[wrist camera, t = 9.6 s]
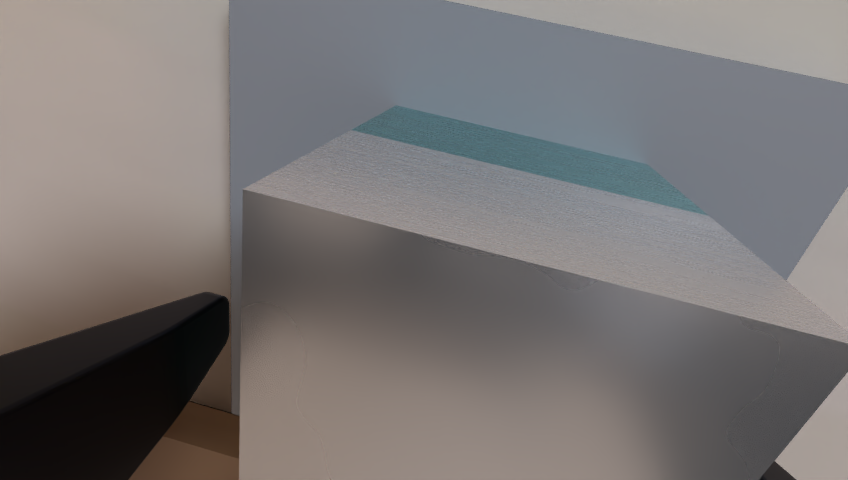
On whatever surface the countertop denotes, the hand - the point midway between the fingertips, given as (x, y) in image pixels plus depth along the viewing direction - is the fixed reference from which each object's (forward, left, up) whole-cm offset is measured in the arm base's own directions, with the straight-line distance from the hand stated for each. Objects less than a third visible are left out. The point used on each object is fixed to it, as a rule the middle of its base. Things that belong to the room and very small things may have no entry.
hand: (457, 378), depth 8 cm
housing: (0, 0, -3) cm, 3 cm away
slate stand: (0, 0, -4) cm, 4 cm away
